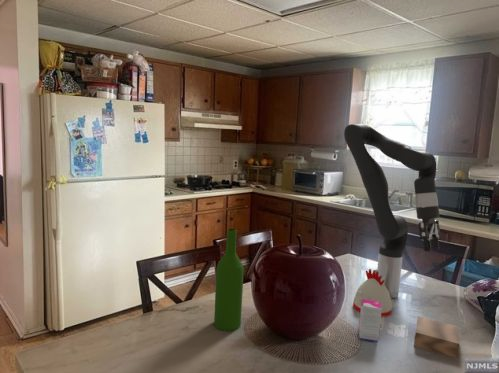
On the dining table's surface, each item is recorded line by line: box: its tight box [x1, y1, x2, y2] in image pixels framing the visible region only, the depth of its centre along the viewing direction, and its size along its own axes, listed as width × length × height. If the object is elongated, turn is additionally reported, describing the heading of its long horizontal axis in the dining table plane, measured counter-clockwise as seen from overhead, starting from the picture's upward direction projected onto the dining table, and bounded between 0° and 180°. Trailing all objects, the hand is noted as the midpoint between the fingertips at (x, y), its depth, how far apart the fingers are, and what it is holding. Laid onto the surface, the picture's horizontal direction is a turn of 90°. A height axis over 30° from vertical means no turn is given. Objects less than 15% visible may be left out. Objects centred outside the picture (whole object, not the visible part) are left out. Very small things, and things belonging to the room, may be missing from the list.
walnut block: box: [413, 316, 460, 359], centre depth 118 cm, size 12×12×5 cm
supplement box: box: [357, 299, 382, 343], centre depth 119 cm, size 6×6×12 cm
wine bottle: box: [213, 228, 244, 332], centre depth 121 cm, size 9×9×32 cm
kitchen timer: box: [352, 268, 393, 318], centre depth 140 cm, size 14×14×15 cm
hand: (432, 249), depth 135 cm, fingers open, 8 cm apart
